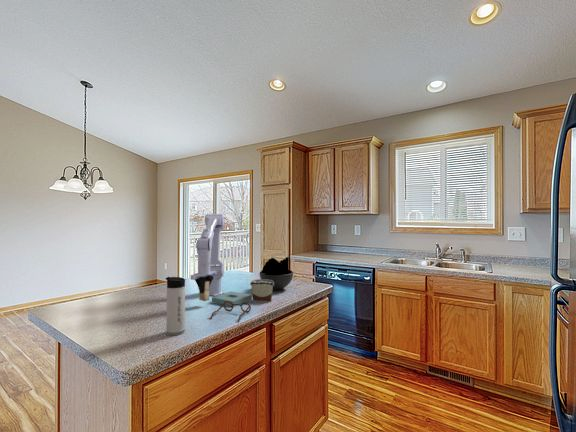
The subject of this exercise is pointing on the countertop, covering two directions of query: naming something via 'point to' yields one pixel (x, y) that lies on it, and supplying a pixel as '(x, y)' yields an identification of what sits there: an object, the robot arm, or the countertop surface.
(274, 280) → the bowl of black rocks
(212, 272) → the robot arm
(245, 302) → the glasses
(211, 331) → the countertop surface
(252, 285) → the food container
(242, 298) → the holder plate
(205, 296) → the wood stick
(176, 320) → the travel mug
